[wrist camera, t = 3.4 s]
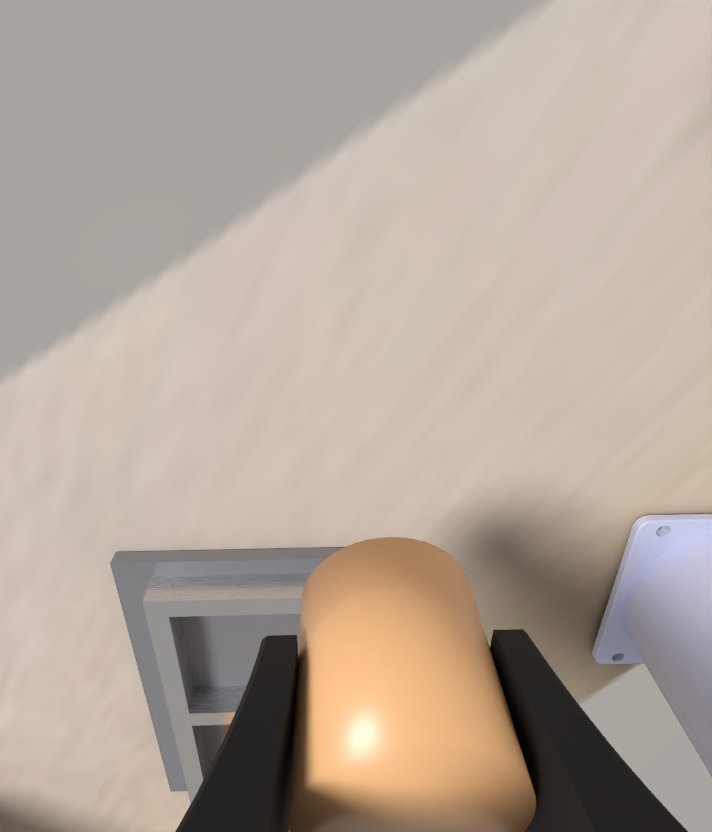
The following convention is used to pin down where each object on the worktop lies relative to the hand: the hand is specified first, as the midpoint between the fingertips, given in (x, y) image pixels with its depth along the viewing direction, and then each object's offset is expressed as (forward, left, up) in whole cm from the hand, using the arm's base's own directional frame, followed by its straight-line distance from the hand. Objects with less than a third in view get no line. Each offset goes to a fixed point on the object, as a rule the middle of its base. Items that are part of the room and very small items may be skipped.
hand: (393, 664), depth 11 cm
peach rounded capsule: (0, 0, -2) cm, 2 cm away
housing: (+4, +12, -8) cm, 15 cm away
